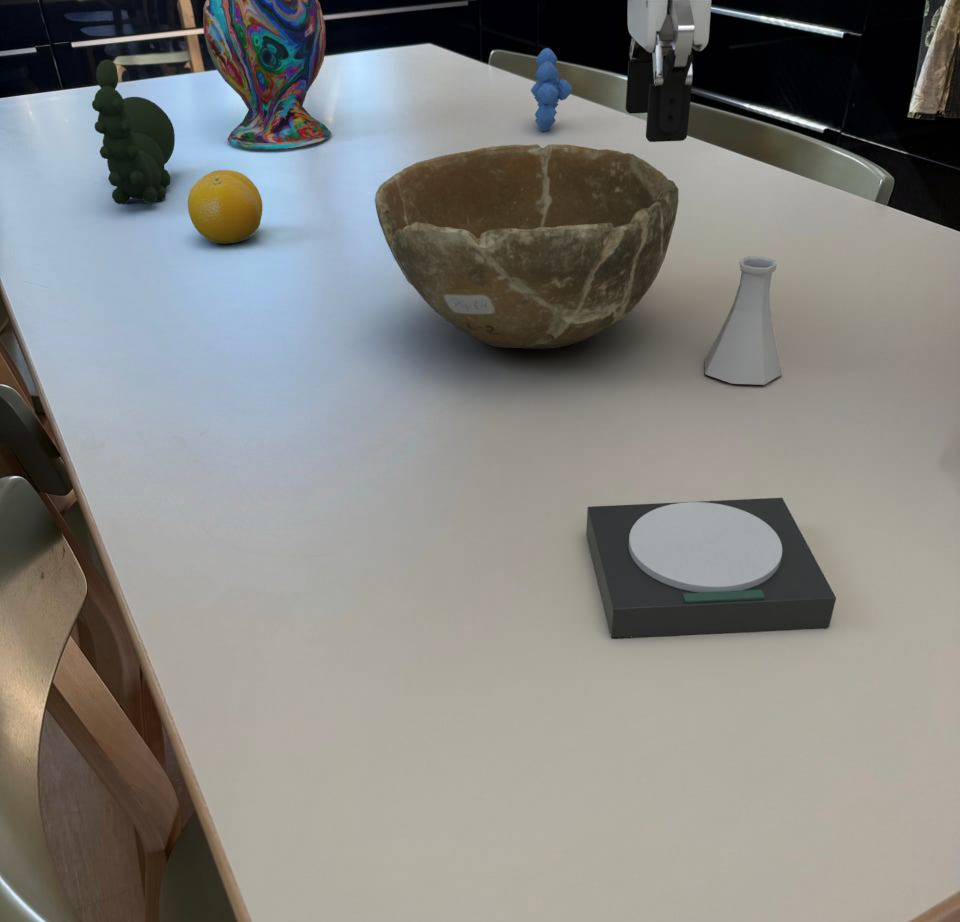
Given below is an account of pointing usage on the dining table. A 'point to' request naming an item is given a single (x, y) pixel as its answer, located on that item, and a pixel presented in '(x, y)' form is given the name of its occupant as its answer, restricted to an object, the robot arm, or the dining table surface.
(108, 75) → the toy figurine
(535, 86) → the grapes
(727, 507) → the scale
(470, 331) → the bowl
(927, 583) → the dining table surface
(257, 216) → the fruit
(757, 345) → the flask
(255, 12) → the vase
